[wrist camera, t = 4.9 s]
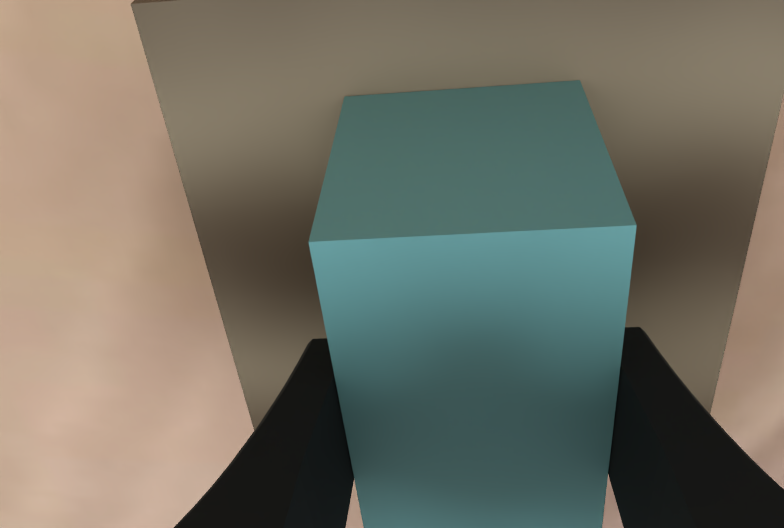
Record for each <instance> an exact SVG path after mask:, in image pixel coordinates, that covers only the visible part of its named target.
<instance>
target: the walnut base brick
mask: <svg viewBox="0 0 784 528" xmlns="http://www.w3.org/2000/svg"><path fill="white" fill-rule="evenodd" d="M131 6H132V10H133V13H134V17H135V20H136V24H137V27H138V31H139V34H140V38H141V41H142V44H143V48H144V51H145V55H146V58H147V62H148V65H149V69H150V72H151V75H152V79H153V82H154V86H155V89H156V93H157V96H158V100H159V103H160V107H161V110H162V113H163V117H164V120H165V124H166V127H167V131H168V134H169V138H170V141H171V144H172V148H173V151H174V155H175V158H176V162H177V165H178V169H179V172H180V176H181V179H182V182H183V186H184V189H185V193H186V196H187V200H188V203H189V207H190V210H191V213H192V217H193V220H194V224H195V227H196V231H197V234H198V238H199V241H200V244H201V248H202V251H203V255H204V258H205V262H206V265H207V269H208V272H209V276H210V279H211V282H212V286H213V289H214V293H215V296H216V300H217V303H218V307H219V310H220V313H221V317H222V320H223V324H224V327H225V331H226V334H227V338H228V341H229V345H230V348H231V351H232V355H233V358H234V362H235V365H236V369H237V372H238V376H239V379H240V382H241V386H242V389H243V393H244V396H245V400H246V403H247V407H248V410H249V413H250V417H251V420H252V424H253V427H254V431H255V429H256V428H257V427H258V425H259V424H260V422H261V421H262V419H263V418H264V416H265V415H266V413H267V411H268V410H269V408H270V407H271V405H272V404H273V402H274V401H275V399H276V398H277V396H278V395H279V393H280V391H281V390H282V388H283V387H284V385H285V383H286V382H287V380H288V378H289V377H290V375H291V373H292V371H293V370H294V368H295V366H296V364H297V363H298V361H299V359H300V357H301V355H302V354H303V352H304V350H305V348H306V346H307V344H308V343H309V342H310V341H311V340H312V339H319V338H327V335H326V330H325V325H324V320H323V314H322V309H321V304H320V299H319V294H318V289H317V283H316V278H315V273H314V268H313V263H312V258H311V253H310V247H309V238H310V234H311V230H312V226H313V221H314V217H315V213H316V209H317V205H318V201H319V197H320V193H321V189H322V185H323V181H324V177H325V173H326V169H327V165H328V161H329V157H330V153H331V149H332V145H333V141H334V137H335V133H336V128H337V124H338V120H339V116H340V112H341V108H342V104H343V100H344V97H345V96H360V95H374V94H388V93H403V92H417V91H432V90H446V89H460V88H475V87H489V86H504V85H518V84H532V83H547V82H561V81H575V80H580V82H581V84H582V87H583V89H584V92H585V94H586V97H587V99H588V102H589V105H590V107H591V110H592V112H593V115H594V117H595V120H596V123H597V125H598V128H599V130H600V133H601V135H602V138H603V140H604V143H605V146H606V148H607V151H608V153H609V156H610V158H611V161H612V163H613V166H614V169H615V171H616V174H617V176H618V179H619V181H620V184H621V186H622V189H623V192H624V194H625V197H626V199H627V202H628V204H629V207H630V210H631V212H632V215H633V217H634V220H635V222H636V225H637V226H636V235H635V244H634V253H633V261H632V270H631V279H630V287H629V296H628V305H627V313H626V322H625V327H640V328H642V329H643V330H644V331H645V332H646V334H647V335H648V336H649V338H650V339H651V341H652V342H653V343H654V345H655V346H656V348H657V349H658V350H659V352H660V353H661V354H662V356H663V357H664V359H665V360H666V361H667V362H668V364H669V365H670V366H671V368H672V369H673V370H674V372H675V373H676V374H677V375H678V377H679V378H680V379H681V380H682V382H683V383H684V384H685V385H686V387H687V388H688V389H689V390H690V392H691V393H692V394H693V395H694V396H695V398H696V399H697V400H698V401H699V402H700V403H701V405H702V406H703V407H704V408H705V409H706V410H707V411H708V413H709V414H710V411H711V407H712V403H713V398H714V394H715V390H716V385H717V381H718V377H719V372H720V368H721V364H722V359H723V355H724V351H725V346H726V342H727V338H728V333H729V329H730V324H731V320H732V316H733V311H734V307H735V303H736V298H737V294H738V290H739V285H740V281H741V277H742V272H743V268H744V264H745V259H746V255H747V251H748V246H749V242H750V237H751V233H752V229H753V224H754V220H755V216H756V211H757V207H758V203H759V198H760V194H761V190H762V185H763V181H764V177H765V172H766V168H767V164H768V159H769V155H770V150H771V146H772V142H773V137H774V133H775V129H776V124H777V120H778V116H779V111H780V107H781V103H782V98H783V94H784V0H135V1H134V2H132V3H131Z"/></svg>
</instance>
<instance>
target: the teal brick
mask: <svg viewBox="0 0 784 528" xmlns="http://www.w3.org/2000/svg"><path fill="white" fill-rule="evenodd" d="M636 226H637V225H636V222H635V220H634V217H633V215H632V212H631V210H630V207H629V204H628V202H627V199H626V197H625V194H624V192H623V189H622V186H621V184H620V181H619V179H618V176H617V174H616V171H615V169H614V166H613V163H612V161H611V158H610V156H609V153H608V151H607V148H606V146H605V143H604V140H603V138H602V135H601V133H600V130H599V128H598V125H597V123H596V120H595V117H594V115H593V112H592V110H591V107H590V105H589V102H588V99H587V97H586V94H585V92H584V89H583V87H582V84H581V82H580V80H575V81H561V82H547V83H532V84H518V85H504V86H489V87H475V88H460V89H446V90H432V91H417V92H403V93H388V94H374V95H360V96H345V97H344V100H343V104H342V108H341V112H340V116H339V120H338V124H337V128H336V133H335V137H334V141H333V145H332V149H331V153H330V157H329V161H328V165H327V169H326V173H325V177H324V181H323V185H322V189H321V193H320V197H319V201H318V205H317V209H316V213H315V217H314V221H313V226H312V230H311V234H310V238H309V247H310V253H311V258H312V263H313V268H314V273H315V278H316V283H317V289H318V294H319V299H320V304H321V309H322V314H323V320H324V325H325V330H326V335H327V340H328V345H329V350H330V356H331V361H332V366H333V371H334V376H335V381H336V387H337V392H338V397H339V402H340V407H341V412H342V417H343V423H344V428H345V433H346V438H347V443H348V448H349V454H350V459H351V464H352V469H353V474H354V479H355V484H356V490H357V495H358V500H359V505H360V510H361V515H362V521H363V526H364V528H602V522H603V513H604V504H605V496H606V487H607V478H608V470H609V461H610V452H611V444H612V435H613V426H614V418H615V409H616V400H617V391H618V383H619V374H620V365H621V357H622V348H623V339H624V331H625V322H626V313H627V305H628V296H629V287H630V279H631V270H632V261H633V253H634V244H635V235H636Z"/></svg>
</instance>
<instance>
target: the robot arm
mask: <svg viewBox="0 0 784 528" xmlns="http://www.w3.org/2000/svg"><path fill="white" fill-rule="evenodd" d="M608 474H609V478H610V481H611V485H612V488H613V492H614V495H615V499H616V502H617V506H618V509H619V513H620V516H621V520H622V523H623V527H624V528H784V489H783V488H782V487H780V486H779V485H778V484H777V483H776V482H775V481H774V480H773V479H772V478H771V477H770V476H769V475H768V474H766V473H765V472H764V471H763V470H762V469H761V468H760V467H759V466H758V465H757V464H756V463H755V462H754V461H753V460H752V459H751V458H750V457H749V456H748V455H747V454H746V453H745V452H744V451H743V450H742V449H741V448H740V447H739V445H738V444H737V443H736V442H735V441H734V440H733V439H732V438H731V437H730V436H729V435H728V434H727V433H726V432H725V431H724V430H723V428H722V427H721V426H720V425H719V424H718V423H717V422H716V421H715V420H714V418H713V417H712V416H711V415H710V414H709V413H708V411H707V410H706V409H705V408H704V407H703V406H702V405H701V403H700V402H699V401H698V400H697V399H696V398H695V396H694V395H693V394H692V393H691V392H690V390H689V389H688V388H687V387H686V385H685V384H684V383H683V382H682V380H681V379H680V378H679V377H678V375H677V374H676V373H675V372H674V370H673V369H672V368H671V366H670V365H669V364H668V362H667V361H666V360H665V359H664V357H663V356H662V354H661V353H660V352H659V350H658V349H657V348H656V346H655V345H654V343H653V342H652V341H651V339H650V338H649V336H648V335H647V334H646V332H645V331H644V330H643V329H642V328H640V327H625V331H624V339H623V348H622V357H621V365H620V374H619V383H618V391H617V400H616V409H615V418H614V426H613V435H612V444H611V452H610V461H609V470H608ZM353 481H354V474H353V469H352V464H351V459H350V454H349V448H348V443H347V438H346V433H345V428H344V423H343V417H342V412H341V407H340V402H339V397H338V392H337V387H336V381H335V376H334V371H333V366H332V361H331V356H330V350H329V345H328V340H327V338H319V339H312V340H311V341H310V342H309V343H308V344H307V346H306V348H305V350H304V352H303V354H302V355H301V357H300V359H299V361H298V363H297V364H296V366H295V368H294V370H293V371H292V373H291V375H290V377H289V378H288V380H287V382H286V383H285V385H284V387H283V388H282V390H281V391H280V393H279V395H278V396H277V398H276V399H275V401H274V402H273V404H272V405H271V407H270V408H269V410H268V411H267V413H266V415H265V416H264V418H263V419H262V421H261V422H260V424H259V425H258V427H257V428H256V429H255V431H254V432H253V434H252V435H251V436H250V438H249V439H248V440H247V442H246V443H245V444H244V446H243V447H242V448H241V450H240V451H239V453H238V454H237V455H236V457H235V458H234V459H233V461H232V462H231V463H230V465H229V466H228V467H227V468H226V470H225V471H224V472H223V473H222V474H221V476H220V477H219V478H218V479H217V481H216V482H215V483H214V484H213V485H212V487H211V488H210V489H209V490H208V491H207V492H206V493H205V495H204V496H203V497H202V498H201V499H200V500H199V501H198V503H197V504H196V505H195V506H194V507H193V508H192V509H191V510H190V511H189V512H188V513H187V514H186V515H185V516H184V517H183V519H182V520H181V521H180V522H179V523H178V524H177V525H176V526H175V527H174V528H345V527H346V521H347V515H348V510H349V504H350V498H351V493H352V487H353Z"/></svg>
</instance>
